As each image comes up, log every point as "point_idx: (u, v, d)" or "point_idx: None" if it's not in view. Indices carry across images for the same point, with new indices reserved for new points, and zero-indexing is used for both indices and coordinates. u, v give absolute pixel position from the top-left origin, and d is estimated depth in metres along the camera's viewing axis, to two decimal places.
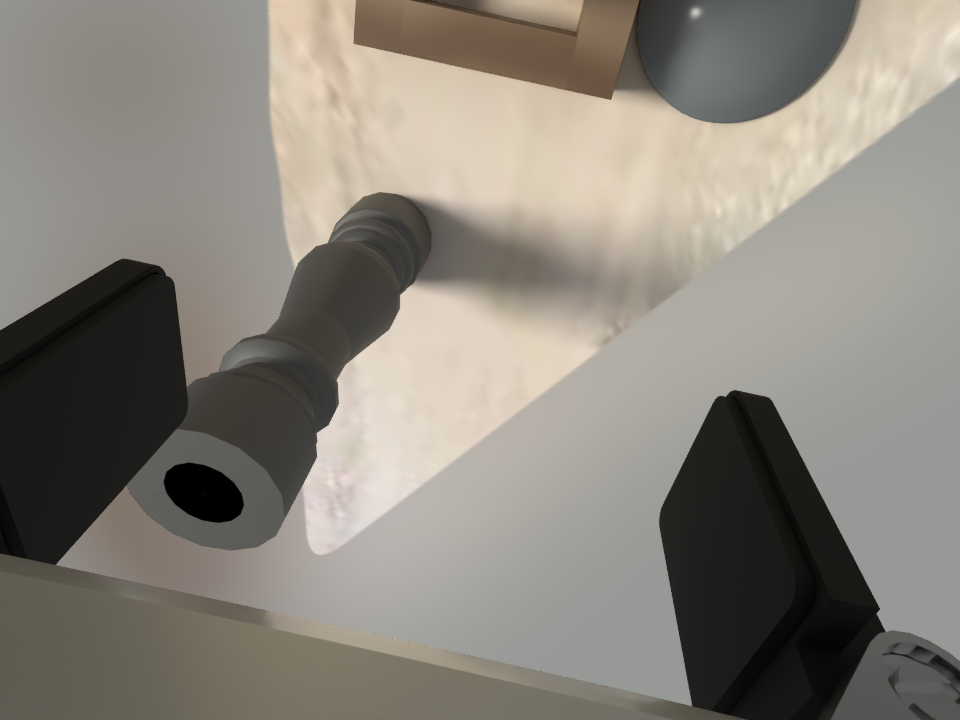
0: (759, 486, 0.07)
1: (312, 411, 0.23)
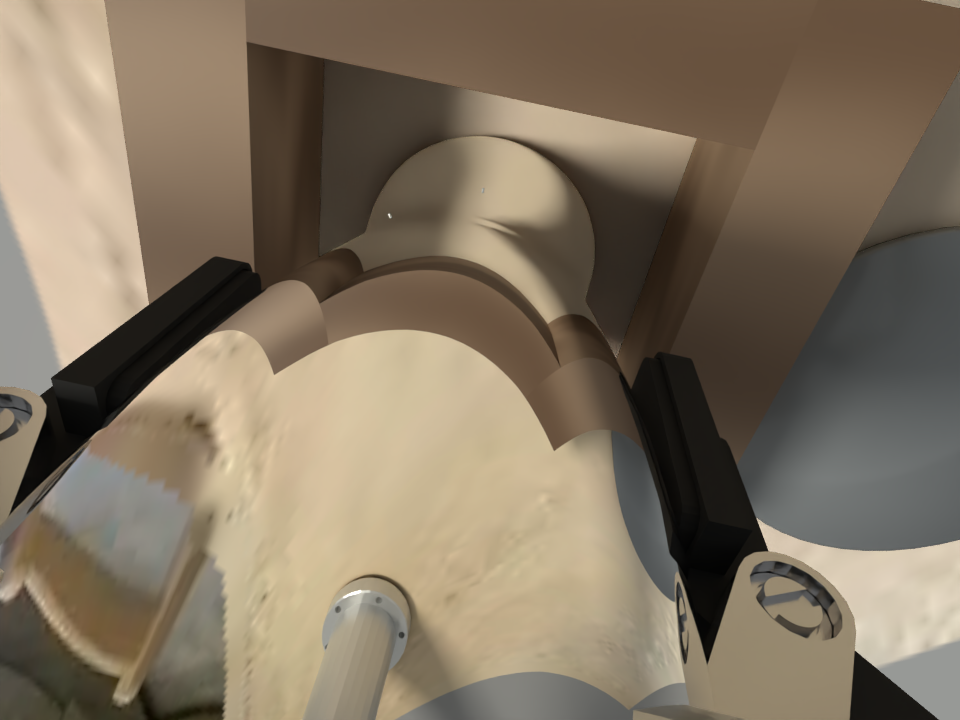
0: (665, 431, 0.08)
1: None
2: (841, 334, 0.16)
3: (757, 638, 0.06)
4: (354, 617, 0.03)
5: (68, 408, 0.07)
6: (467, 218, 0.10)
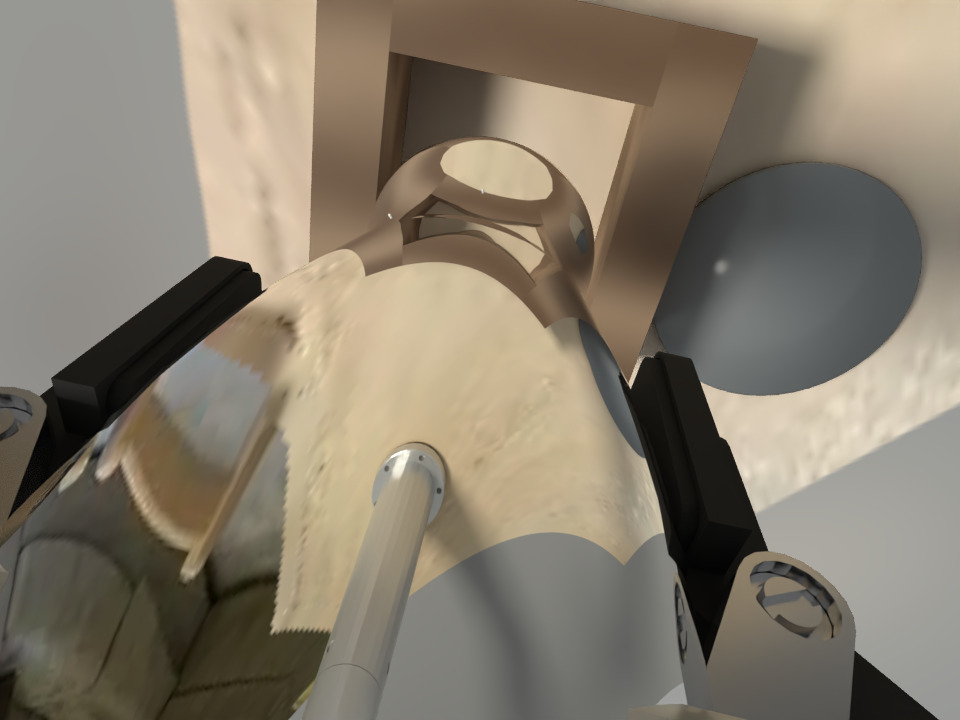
0: (665, 431, 0.08)
1: None
2: (728, 234, 0.25)
3: (757, 638, 0.06)
4: (355, 614, 0.03)
5: (68, 408, 0.07)
6: (467, 218, 0.10)
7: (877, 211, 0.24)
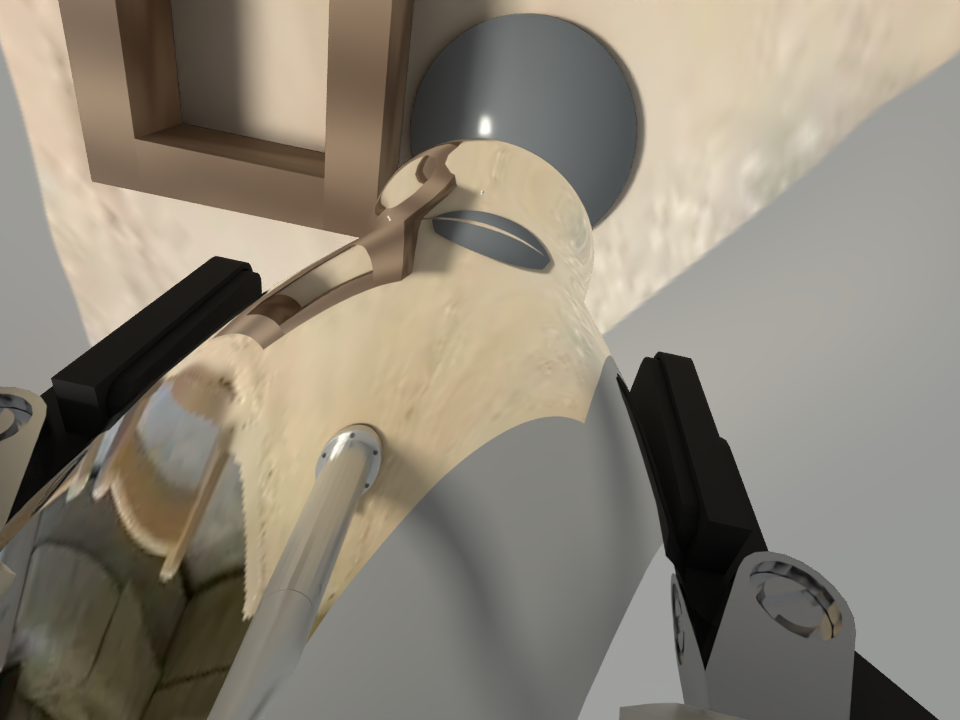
0: (665, 431, 0.08)
1: None
2: (463, 87, 0.28)
3: (757, 638, 0.06)
4: (353, 622, 0.03)
5: (68, 408, 0.07)
6: (466, 221, 0.10)
7: (585, 59, 0.26)
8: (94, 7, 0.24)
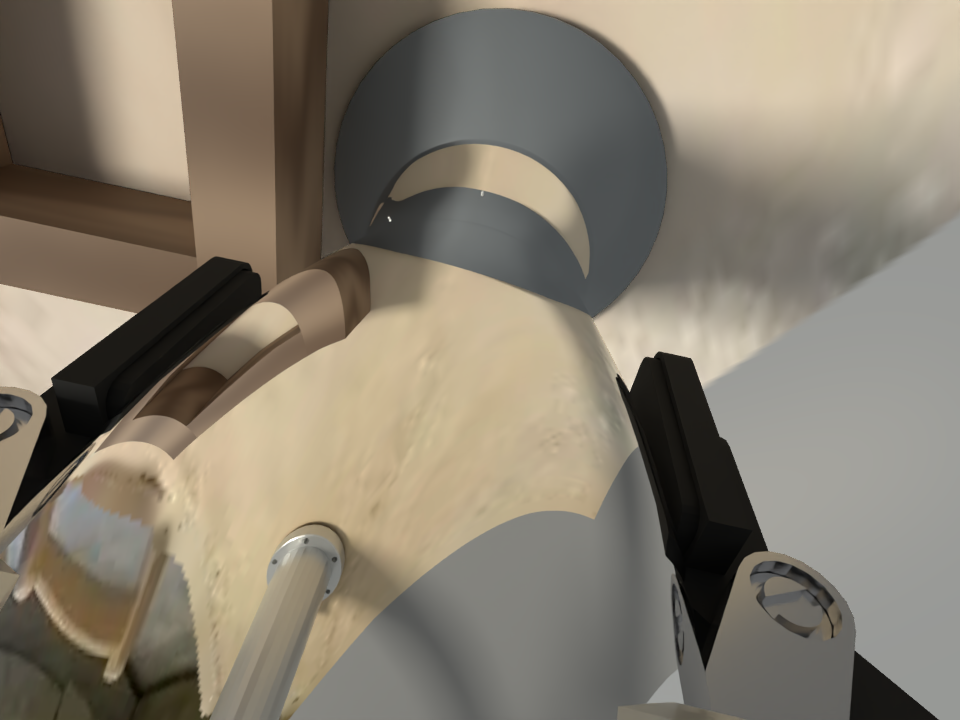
0: (665, 431, 0.08)
1: None
2: (408, 118, 0.18)
3: (757, 638, 0.06)
4: (353, 625, 0.03)
5: (68, 408, 0.07)
6: (466, 222, 0.10)
7: (592, 79, 0.17)
8: None
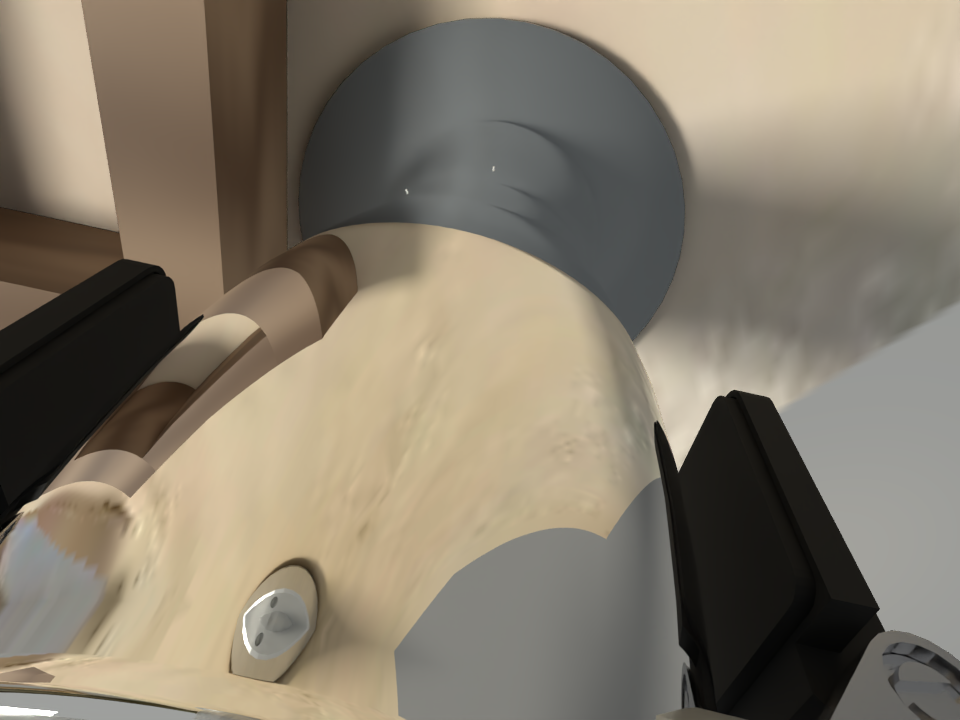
0: (759, 486, 0.07)
1: None
2: (382, 145, 0.16)
3: None
4: (404, 448, 0.04)
5: None
6: (480, 189, 0.10)
7: (597, 101, 0.15)
8: None
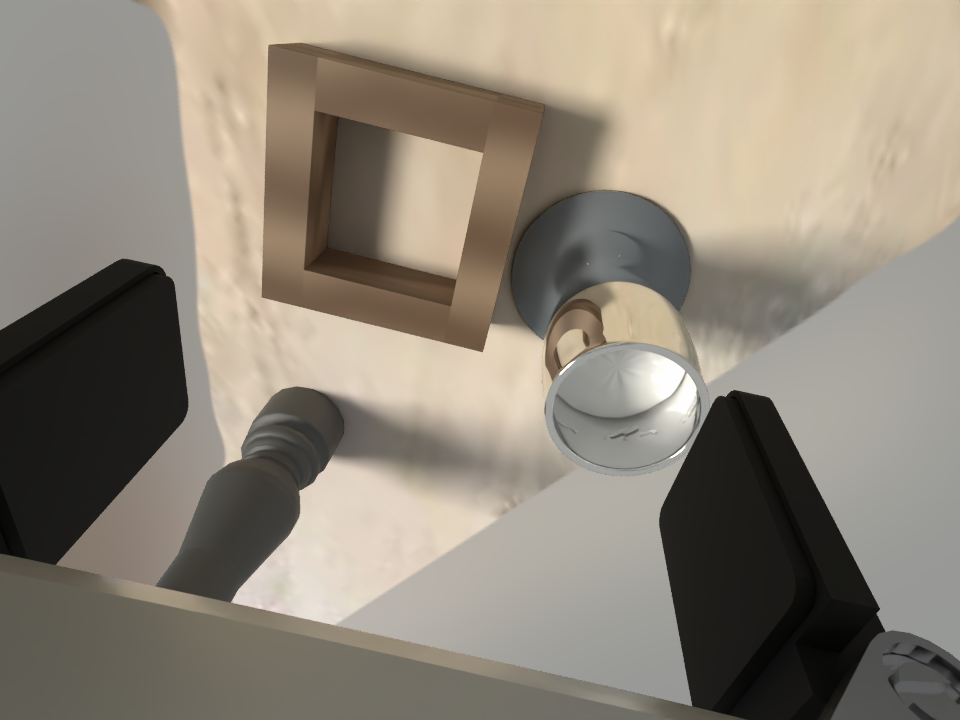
0: (759, 486, 0.07)
1: None
2: (558, 238, 0.36)
3: None
4: (654, 324, 0.24)
5: None
6: (624, 267, 0.30)
7: (655, 225, 0.35)
8: (292, 180, 0.32)
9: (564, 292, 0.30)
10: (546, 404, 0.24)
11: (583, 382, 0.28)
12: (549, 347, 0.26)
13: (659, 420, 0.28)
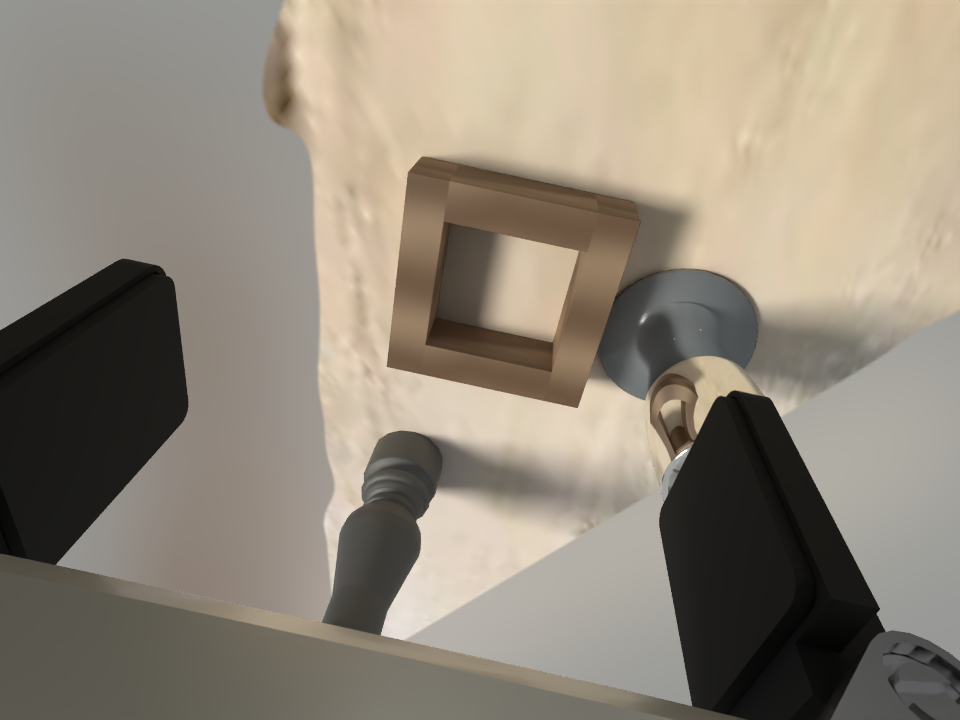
0: (759, 486, 0.07)
1: None
2: (641, 308, 0.41)
3: None
4: None
5: None
6: (708, 345, 0.36)
7: (727, 297, 0.40)
8: (420, 275, 0.38)
9: (659, 368, 0.36)
10: (663, 479, 0.30)
11: None
12: (658, 427, 0.32)
13: None
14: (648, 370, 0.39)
